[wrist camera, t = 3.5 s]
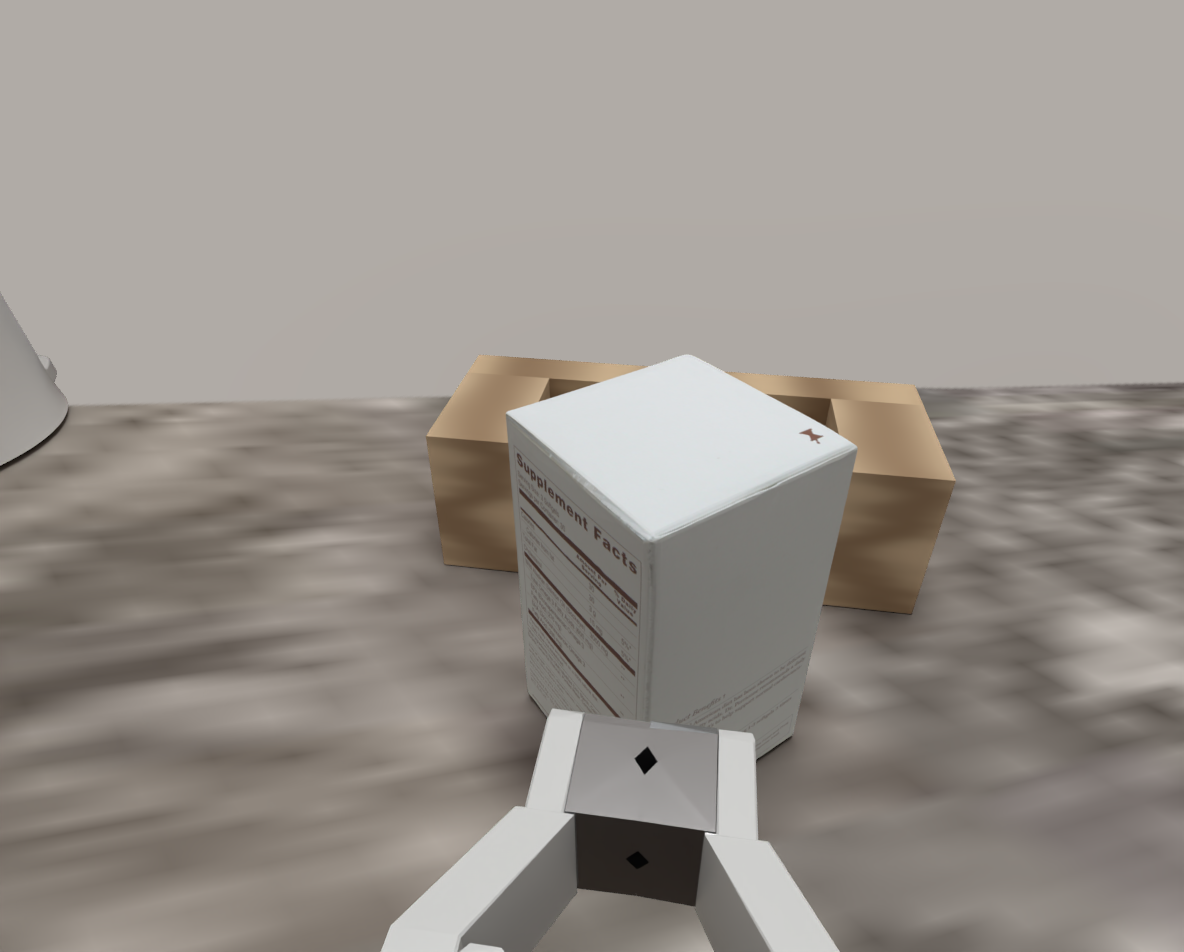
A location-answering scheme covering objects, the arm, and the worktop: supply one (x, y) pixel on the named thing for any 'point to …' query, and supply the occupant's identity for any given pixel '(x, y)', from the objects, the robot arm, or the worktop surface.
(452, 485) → the oak rack
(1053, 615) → the worktop surface
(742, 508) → the supplement box
